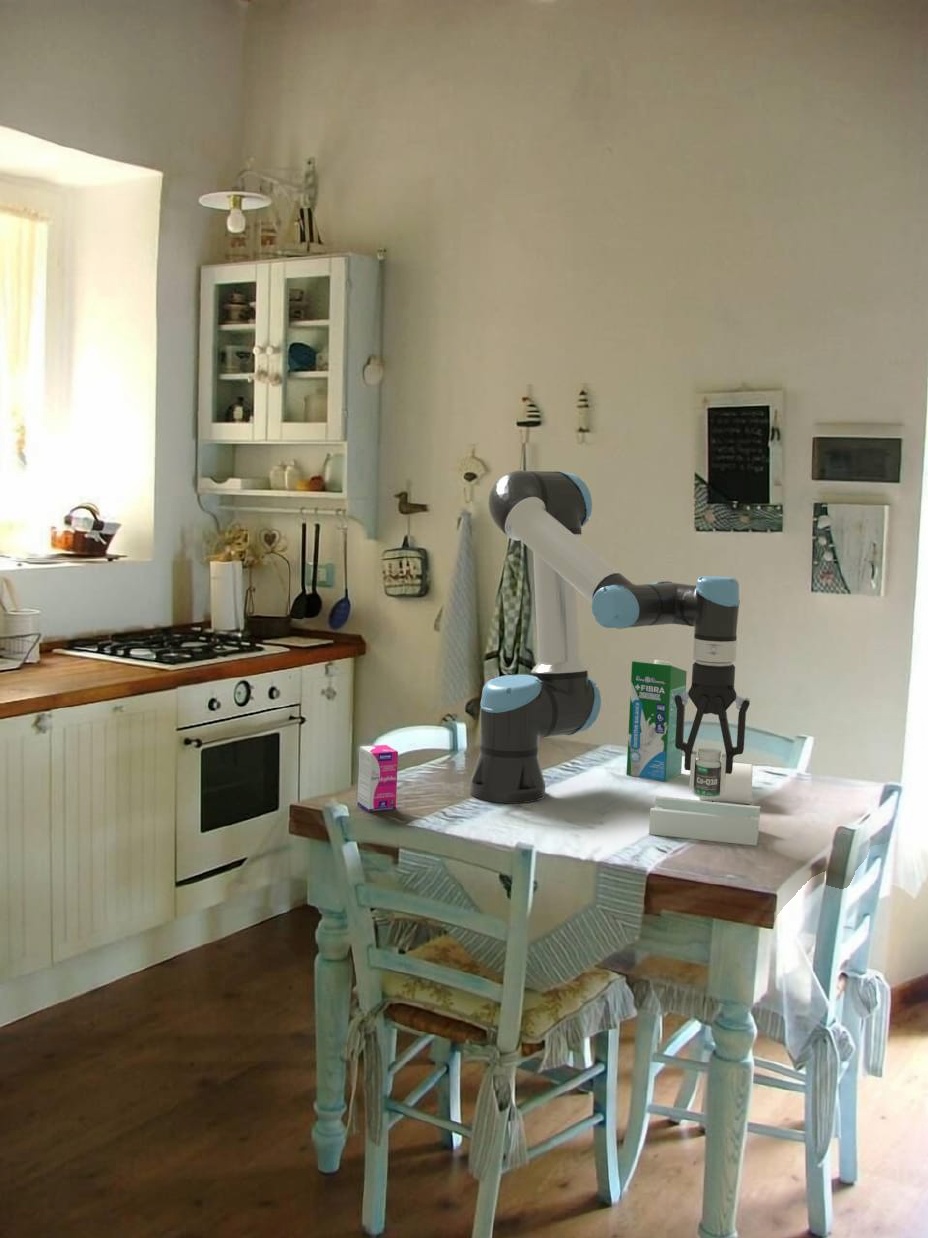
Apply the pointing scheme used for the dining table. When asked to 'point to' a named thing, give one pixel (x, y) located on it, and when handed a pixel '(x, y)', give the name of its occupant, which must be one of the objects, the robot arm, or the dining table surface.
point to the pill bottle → (707, 773)
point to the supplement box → (377, 778)
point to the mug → (736, 786)
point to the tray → (705, 820)
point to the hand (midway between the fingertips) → (707, 789)
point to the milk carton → (654, 720)
